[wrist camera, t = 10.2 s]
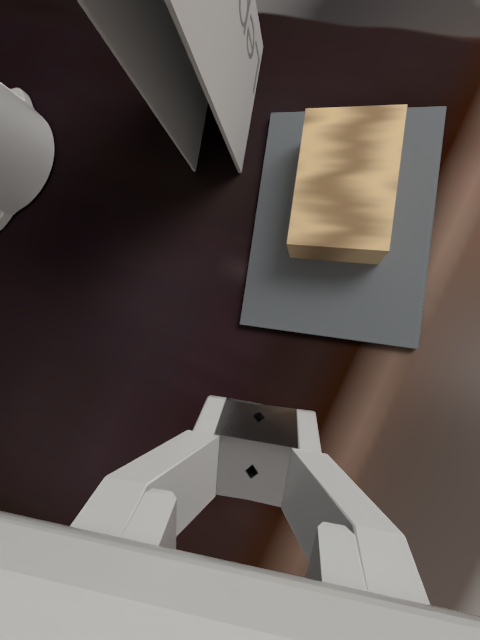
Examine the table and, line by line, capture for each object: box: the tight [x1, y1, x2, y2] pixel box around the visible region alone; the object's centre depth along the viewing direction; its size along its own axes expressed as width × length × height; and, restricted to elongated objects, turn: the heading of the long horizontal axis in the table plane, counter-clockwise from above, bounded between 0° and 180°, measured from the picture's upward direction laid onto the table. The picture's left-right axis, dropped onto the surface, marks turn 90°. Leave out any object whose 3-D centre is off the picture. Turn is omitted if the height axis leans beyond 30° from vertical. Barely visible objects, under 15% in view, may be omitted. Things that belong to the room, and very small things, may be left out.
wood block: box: [287, 104, 407, 265], centre depth 27 cm, size 8×4×12 cm
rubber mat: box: [240, 106, 446, 349], centre depth 29 cm, size 16×22×1 cm
